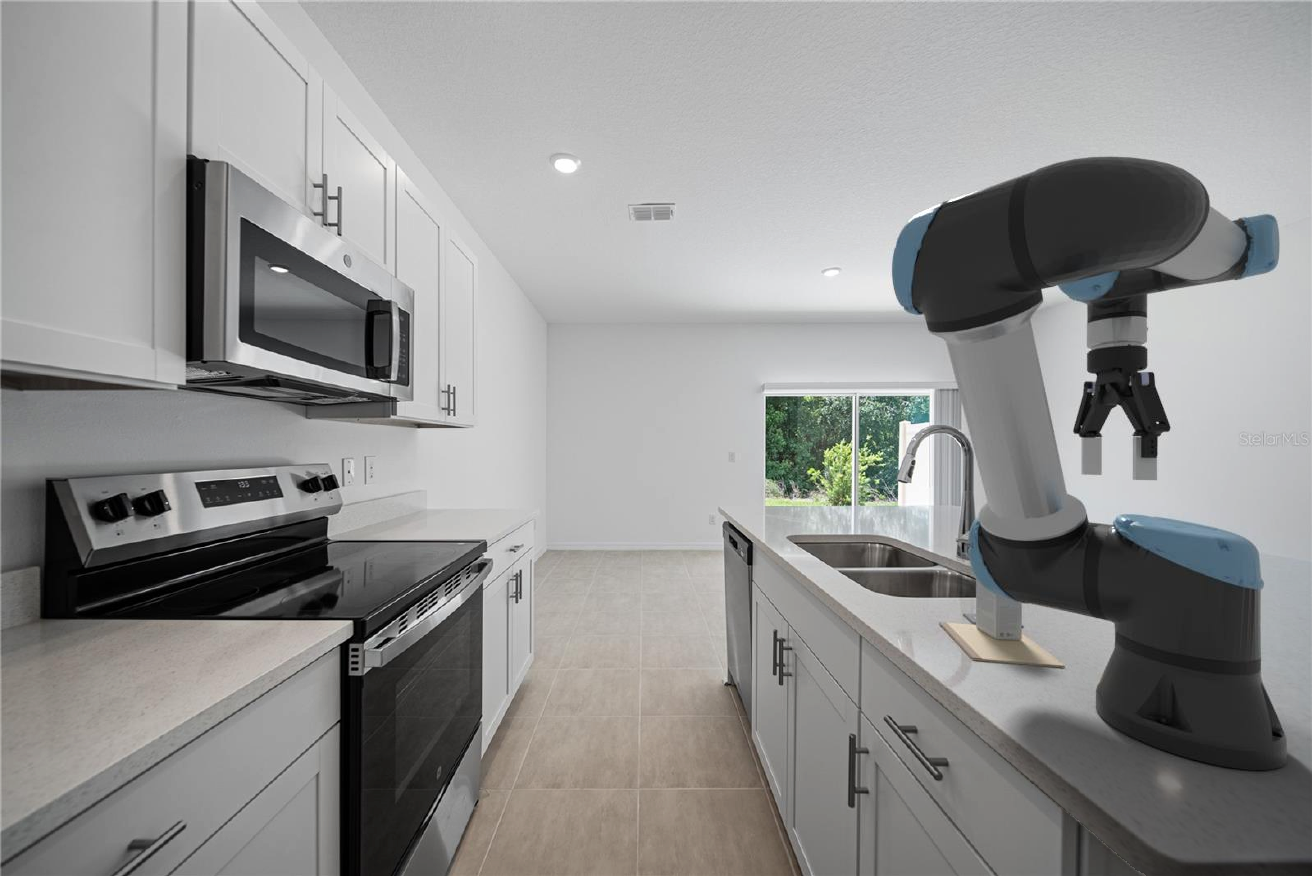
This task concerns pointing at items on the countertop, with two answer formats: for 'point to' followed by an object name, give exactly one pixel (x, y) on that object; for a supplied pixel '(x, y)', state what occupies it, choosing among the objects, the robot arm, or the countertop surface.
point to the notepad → (998, 647)
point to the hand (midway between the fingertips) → (1116, 477)
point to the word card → (972, 617)
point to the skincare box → (998, 615)
